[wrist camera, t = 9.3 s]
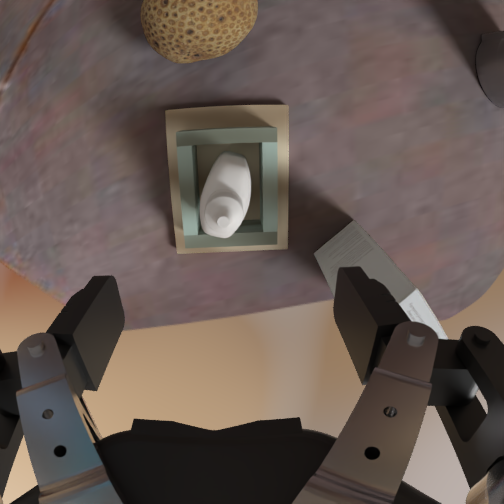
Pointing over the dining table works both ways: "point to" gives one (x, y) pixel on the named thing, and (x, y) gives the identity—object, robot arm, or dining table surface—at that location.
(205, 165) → the frame
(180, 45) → the natural sponge
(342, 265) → the skincare box
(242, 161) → the eye dropper bottle
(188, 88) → the dining table surface
